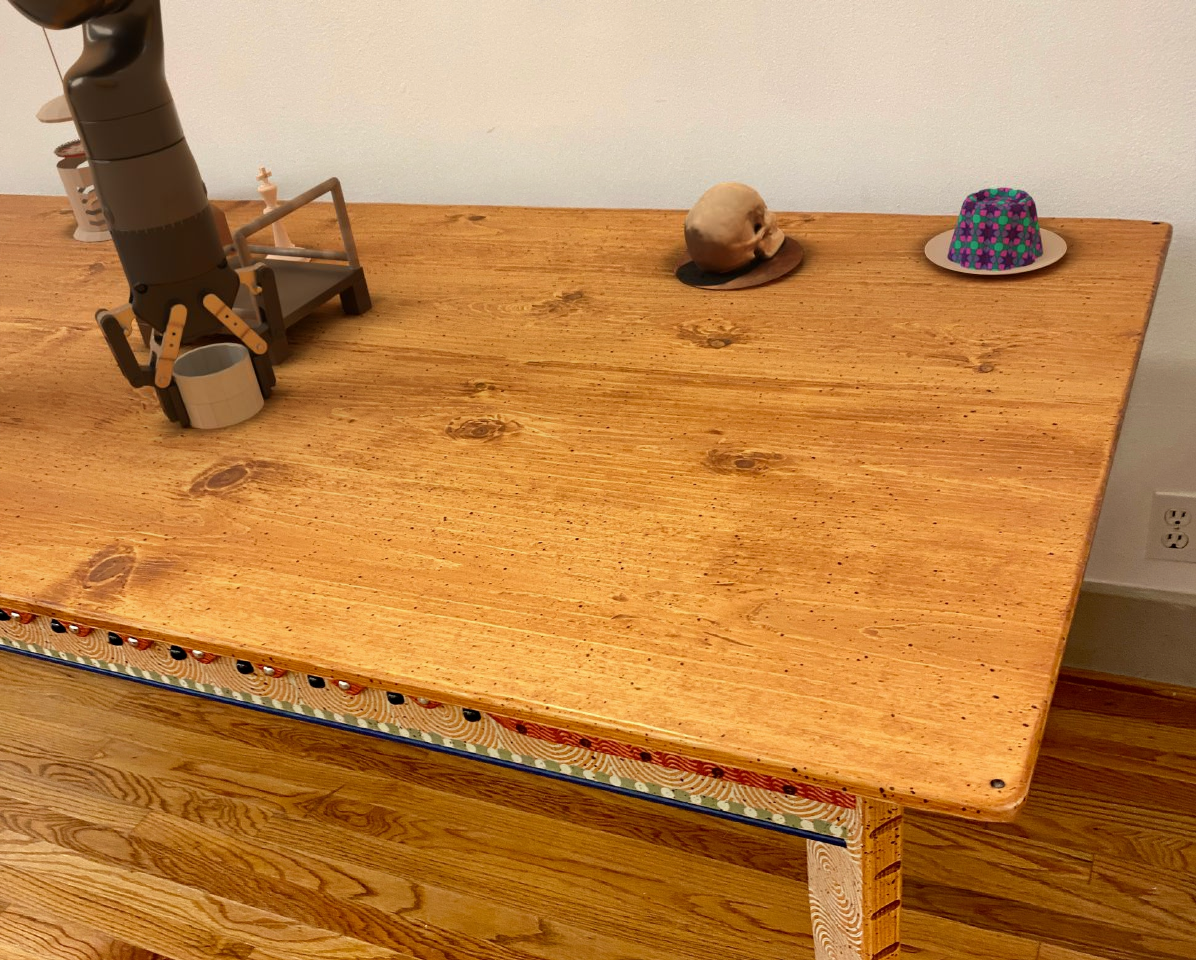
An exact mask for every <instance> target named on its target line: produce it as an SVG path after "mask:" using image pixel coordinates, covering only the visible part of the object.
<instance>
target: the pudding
mask: <svg viewBox="0 0 1196 960" xmlns="http://www.w3.org/2000/svg"><path fill="white" fill-rule="evenodd" d="M1037 211H1038V210H1037V205H1036V203H1035V200H1034V198H1033V197H1032V196H1031V195H1030V194H1029V193H1028V192H1026V191H1025V190H1022V189H1013V188H1011V187H997V188H983V189H981V190H979V191H977V192H972V193H970V194H968V195H967V196H966V198H965V199H964V200H963V202H962V205H961V207H960V211H959V214H958V218H957V220H956V224H955V227H954V228H951V229H949V230H947V231H944V232H941V233H938V234H937V235H935V236H934V237H932V238H931V239H929V241H928V242H926V245H925V246H924V253H925V255H926V257H927V258H928V259H929V261H931V262H932V263H934V264H936V265H937V266H940V267H942V268H945V269H948V270H952V271H955V272H961V273H966V274H975V275H989V276H990V275H1011V274H1019V273H1024V272H1029V271H1034V270H1037V269H1042V268H1044V267H1046V266H1049V265H1052V264H1053V263H1055V262H1057V261H1058V260H1060V259H1061V258H1063V257H1064V255H1065V254H1066V253H1067V248H1068V247H1067V243H1066V241H1065V240H1064V238H1062V237H1061V236H1059V234H1057V233H1055V232H1053V231H1051V230H1048V229H1045V228H1042V227H1040V223H1039V217H1038V212H1037Z"/></svg>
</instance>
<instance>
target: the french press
mask: <svg viewBox="0 0 1196 960" xmlns="http://www.w3.org/2000/svg"><path fill="white" fill-rule="evenodd" d="M41 28H42V32H43V33H44V36H45V39H46V42H47V46H48V48H49V50H50V54H51V56H52V59H53V62H54V64H55V67H56V70H57V73H58V76H59V79H60V81H61V84H62V85H63V76H62V73H61V71H60V68H59V65H58V62H57V59H56V58H55V57H56V56H55V54H54V51H53V48H52V46H51V43H50V39H49V38H48V34H47V32H46V28H43V27H41ZM35 118H36V119H37V120H38V121H39V122H40V123H43V124H59V123H67V122H73V119H72V116H71V113H70V111H69V108H68V105H67V102H66V99H65V95H64V93H63V94H62V95H59V96H56V97H54V98H52V99H50V100H48V101H47V102H46V103H44V104H43V105H42V106H41V107H40V108H39V110H38V112H37V113H36V114H35ZM53 154H54V155H56V156H57V157H58V158H62V159H61V160H59V161H57V163H56V165H55V167H56V170H57V172H58V175H59V177H60V180H61V182H62V186H63V188H64V191H65V193H66V195H67V198H68V202H69V204H70V206H71V209H72V211H73V214H74V217H75V219H76V223H77V224H78V226H77V227H76V229H75V231H74V233H73V236H72V237H73V238H74V239H75V240H76V241H79V242H85V243H88V242H89V243H91V242H92V243H95V242H104V241H111V240H112V237H111V234H110V231H109V229H108V226H107V223H106V220H105V218H104V215H103V212H102V209H101V207H100V204H99V201H98V198H97V196H96V192H95V189H94V188H93V189H91V190H88V191H87V193H84V192H85V191H86V189H87V188H89V187H92V186H93V182H92V177H91V173H90V168H89V165H88V166H84V167H79V166H80V165H83V164H85V162H88V161H87V158H86V157H87V156H86V154H85V152H84V149H83V146H82V144H81V141H80V138H77V139H74V140H70V141H66V142H64V143H62V144H60V145H59V146H57V147H56V148H55V149H54V150H53ZM95 198H97V199H95ZM92 199H93V201H92V202H91V203H90V204H89V203H88V202H89V201H90V200H92ZM94 199H95V200H94Z"/></svg>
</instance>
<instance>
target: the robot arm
mask: <svg viewBox="0 0 1196 960" xmlns="http://www.w3.org/2000/svg"><path fill="white" fill-rule="evenodd" d="M6 1H7V2H8V3H9V4H10V5H11V6H12V7H13V8H14V9H15V10H16V11H17V12H18V13H19V14H20V15H21V16H23V17H24V18H25V19H27V21H30V22H31V23H33V24H35V25H36V26H39V27H41V28H42V27H43V28H44V29H47V30H51V31H65V30H70V29H73V28H76V27H79V26H81V30H82V41H83V47H82V51H81V54H80V56H79V57H78V59H77V60H75V62H74V63H73V64H72V65H71V66H70V67H69V68H68V69H67V71H66V72H65V73H64V75H63V77H62V79H63V84H62V89H63V94H64V95H65V99H66V102H67V105H68V108H69V111H70V113H71V116H72V119H73V121H72V123H73V125H74V127H75V130H76V132H77V135H78V139H79V140H80V141H81V144H82V146H83V149H84V152H85V154H86V156H87V157H86V158H87V161H86V162H87V164H88V166H89V168H90V173H91V177H92V182H93V185H92V186H93V189H95V192H96V196H97V197H96V198H97V199H98V201H99V204H100V207H101V209H102V212H103V215H104V218H105V220H106V223H107V226H108V229H109V231H110V234H111V237H112V239H111V240H112V243H113V245H114V248H115V251H116V253H117V257H118V259H119V261H120V264H121V267H122V269H123V272H124V276H125V279H126V280H127V281H126V282H127V283H128V287H129V296H128V302H127V303H124V304H121V305H120V306H117V307H115V308H113V309H109V310H108V309H106V308H99V309H97V310H96V311H95V313H94V319H95V320H96V323H97V325H98V327H99V330H100V331H101V334H102V335H103V337H104V340H105V342H106V344H107V346H108V347H109V349H110V352H111V355H112V356H113V358H114V360H115V362H116V364H117V366H118V369H119V370H120V372H121V374H122V376H123V377H124V379H126V380H127V381H128V383H129V385H130V386H131V387H132V388H134V389H141V388H143V387H153V388H154V391H155V394H156V396H157V399H158V402H159V405H160V408H161V410H162V412H163V414H164V415H165V417H166V419H168V420H169V422H171V423H172V424H174V423H177V425H178V426H179V427H180V428H184V427H187V426H190V425H189V420H188V417H187V415H186V412H185V409H184V406H183V404H182V401H181V398H180V395H179V392H178V390H177V387H176V385H175V383H174V382H173V381H172V380H171V377H172V372H173V366H174V362H175V361H176V360H177V358H178V357H179V351H180V347H181V343H182V344H183V345H187V344H189V343H192V342H194V341H196V340H197V339H199V338H201V337H202V336H212V335H213V336H214V335H216V334H220V333H219V332H222V330H221V329H222V328H223V327H224V326H227V327H228V328H229V329H230V330H231V331H232V332H233V333H234V334H235V335H234V336H235V337H237V338H238V339H239V340H241V342H243V343H244V344H245V347H246V348H248V351H249V354H250V357H251V360H252V363H253V367H254V370H255V373H256V376H257V379H258V382H259V386H260V389H261V392H262V395H263V398H266V397H269V396H272V395H273V390H272V388H273V387H274V388H275V387H276V386H277V378H276V373H275V371H274V369H273V368H274V367H273V365H272V364H271V361H270V358H269V354H268V348H269V346H270V345H271V344H272V343H273V342H274V341H276V340H280V339H283V338H284V336H285V335H286V334H287V331H286V329H285V325H284V320H283V315H282V310H281V305H280V300H279V295H278V290H277V285H276V280H275V275H274V272H273V270H272V269H271V268H269V267H268V266H267V265H265V264H264V263H262V262H261V261H259V260H254V261H252V262H251V263H250V266H249V267H244V268H240V269H235V270H234V269H233V268H232V267H231V266H230V265H229V263H228V261H227V260H228V259H227V255H225V252H224V249H223V246H222V242H221V239H220V236H219V233H218V229H217V226H216V223H215V220H214V217H213V213H212V210H211V207H210V204H209V203H210V200H209V198H208V197H209V196H208V190H207V186H206V184H205V182H204V179H203V178H202V175H201V171H200V169H199V166H198V163H197V161H196V160H195V156H194V155H193V153H192V149H191V148H190V146H189V143H188V141H187V139H186V136H185V132H184V128H183V126H182V122H181V119H180V116H179V112H178V109H177V107H176V106H177V105H176V103H175V100H174V97H173V93H172V92H171V91H172V90H171V89H170V86H169V83H168V80H167V76H166V63H165V60H166V59H165V38H164V27H163V17H162V16H163V15H162V5H161V4H162V3H161V0H6ZM43 28H42V29H43ZM240 284H245V286H246V288H247V290H248V291H250V292H251V293H252V294H254V295H255V298H256V302H257V307H258V312H259V316H260V321H261V325H260V326H258V327H257V328H256V329H254V330H252V329H251V328H250V327H249V326H248V325H247V324H246V323H245V322H244V321H243V320H242V319H240V318H239V317H238V316H237V315H236V314H235V313H234V312H233V311H232V308H233V305H234V302H235V299H236V296H237V293H238V290H239V287H240ZM136 317H138V318H139V319H140V320H142V321H143V322H145V323H146V324H148V325H149V326H151V327H152V333H151V339H150V348H149V349H150V350H149V355H148V360H147V365H143V364H142V365H140V364H139V362H138V360H137V358H136V356H135V354H134V352H133V350H132V347H131V345H130V344H129V343H130V342H129V341H128V338H129V337H130V336H131V335H132V333H133V326H132V321H133V320H134V319H135V318H136ZM160 333H161V334H160Z"/></svg>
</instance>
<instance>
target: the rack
mask: <svg viewBox="0 0 1196 960" xmlns="http://www.w3.org/2000/svg"><path fill="white" fill-rule="evenodd" d="M329 192H330V194H331V198H332V202H333V206H334V210H335V215H336V218H337V223H338V226H339V230H340V234H341V238H342V242H343V246H344V250H345V251H336V250H335V251H333V250H320V249H310V248H308V249H307V248H305V249H298V248H286V247H275V246H271V245H260V244H259V245H258V244H248V241H247V238H249V237H251V236H253V235H254V234H256V233H258V232H259V231H262V230H263V229H265V228H267V227H268V226H270V225H272V223H274V222H276V221H277V220H279V219H281V220H282V219H283V218H285V217H286V216H288V215H290V214H292V213H293V212H295V211H297V210H299V209H301V208H303V207H304V206H306V205H308V204H309V203H311V202H313V201H315V200H316V199H318V198H320V197H322V196H323V195H326V194H328V193H329ZM280 205H281V206H279V207H277V208H275V209H274V210H272V211H270V212H268V213H266V214H264V213H263V215H261V216H259V217H257V218H256V219H253V220H252V221H250V222H249V223H246V224H244V225H242V226H241V227H239V228H237V229H236V230H234V231H233V233H232V240H233V244H232V245H226V246H224V247H223V249H224V252H225V255H226V256H228V255H230V254H232V253H233V252H234V253H237V255H233V256H231V257H230V258H228V259H227V261H228V263H229V265H230V266H231V267H232V268H233V269H234V270H235V269H240V268H244V267H249V266H250V263H251V262H252V261H254V260H259V261H261V262H262V263H264V264H265V265H267V266H268V267H269V268H271V269H272V270H273V272H274V275H275V280H276V285H277V290H278V295H279V300H280V305H281V310H282V315H283V320H284V325H285V330H286V329H288V328H290V327H291V326H292V325H294V324H296V323H297V322H298V321H301V319H303V318H305V317H306V316H308V315H309V314H311V313H312V312H314V311H315V310H317V309H318V308H320V307H321V306H323V305H325V304H326V303H327V302H329V301H330V300H332V299H333V298H335V297H337V296H339V301H340V304H341V308H342V311H343V314H349V315H355V316H356V315H357V316H361V315H362V314H364V313H365V312H366V311H369V309H371V308H372V307H373V303H372V300H371V296H370V291H369V287H368V283H367V279H366V275H365V272H364V267H363V266H361V262H360V258H359V254H358V249H357V246H356V242H355V238H354V234H353V230H352V225H351V221H350V217H349V214H348V209H347V205H346V201H345V197H344V193H343V189H342V185H341V181H340V180H339V178H338V177H336V176H333V177H329V178H328V179H326V180H324V181H323V182H320V183H319V184H318V185H315V186H313V187H312V188H310V189H308V190H307V191H305V192H302V193H301V194H299V195H297V196H295V197H294V198H292V199H290V200H288V201H286V202H285V203H283V204H280ZM252 254H255V255H266V256H268V255H278V256H290V257H302V258H311V259H313V260H315V259H316V260H326V261H327V260H328V261H339V262H348V265H345V264H334V263H323V262H311V261H309V262H301V261H289V260H278V259H266V257H254V256H252ZM232 311H233V312H234V313H235V314H236V315H237V316H238V317H239V318H240V319H242V320H243V321H244V322H245V323H246V324H247V325H248V326H249V327H250V328H251V329H252V330H254V329H256V328H257V327H258V326H260V325H261V321H260V316H259V312H258V307H257V302H256V298H255V295H254V294H252V293H251V292H250V291H248V290H247V288H246V286H245V284H240V287H239V290H238V293H237V296H236V299H235V302H234V305H233V308H232ZM134 319H135V322H136V324H137V327H138V330H139V332H140V335H141V338H142V341H143V344H144V346H145V349H150V339H151V333H152V327H151V326H149V325H148V324H146V323H145V322H143V321H142V320H140V319H139V318H138V317H136V318H134ZM221 330H222V332H219V333H218V334H222V335H228V336H229V335H231V336H236V335H235V334H234V333H233V332H232V331H231V330H230V329H229V328H228V327H227V326H224V327H223V328H222V329H221ZM160 334H161V333H160ZM290 348H291V347H290V345H289V342H288V339H287V335H286V334H285V336H284V338H283V339H280V340H276V341H274V342H273V343H272V344H271V345H270V346H269V348H268V354H269V358H270V361H271V364H272V366H275V367H276V366H277V367H278V366H280V365H281V364H282V363H284V362H285V361H287V360H288V359H290V358H292V356H293V355H292V352H291V349H290Z"/></svg>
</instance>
